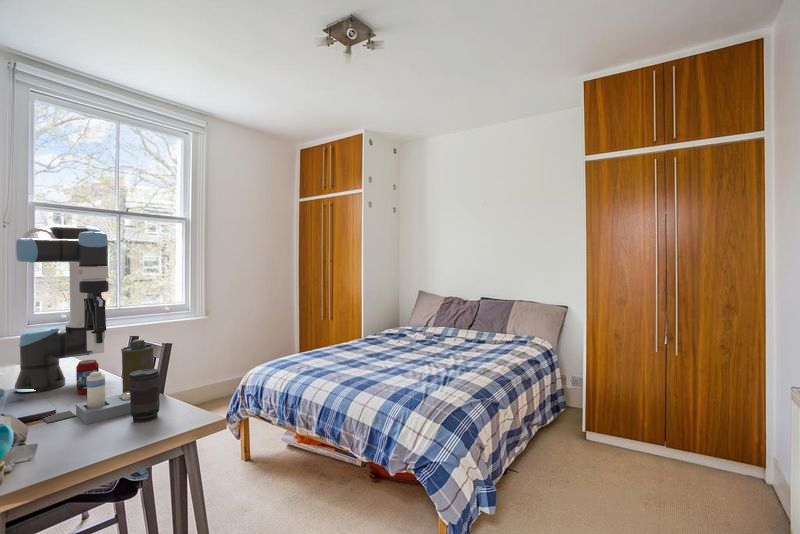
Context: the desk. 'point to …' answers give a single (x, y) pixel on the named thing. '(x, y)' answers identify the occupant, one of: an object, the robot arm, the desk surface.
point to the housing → (103, 410)
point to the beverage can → (85, 374)
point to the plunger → (126, 396)
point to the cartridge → (95, 390)
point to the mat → (59, 417)
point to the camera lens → (144, 394)
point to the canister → (135, 360)
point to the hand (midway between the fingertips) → (95, 351)
